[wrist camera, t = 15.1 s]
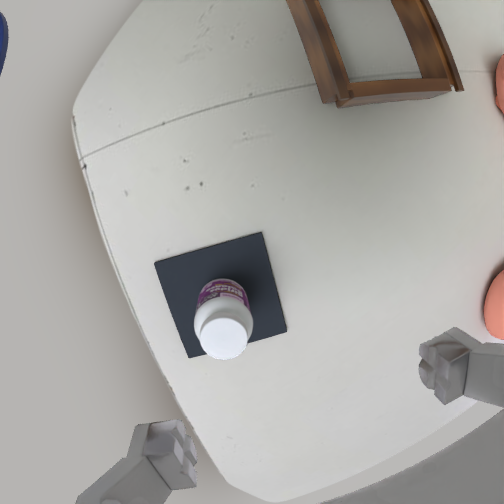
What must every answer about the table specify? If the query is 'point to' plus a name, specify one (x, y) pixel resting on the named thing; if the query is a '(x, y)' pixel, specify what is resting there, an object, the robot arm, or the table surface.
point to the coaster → (222, 267)
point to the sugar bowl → (495, 307)
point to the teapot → (500, 84)
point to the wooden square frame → (360, 93)
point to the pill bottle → (223, 319)
